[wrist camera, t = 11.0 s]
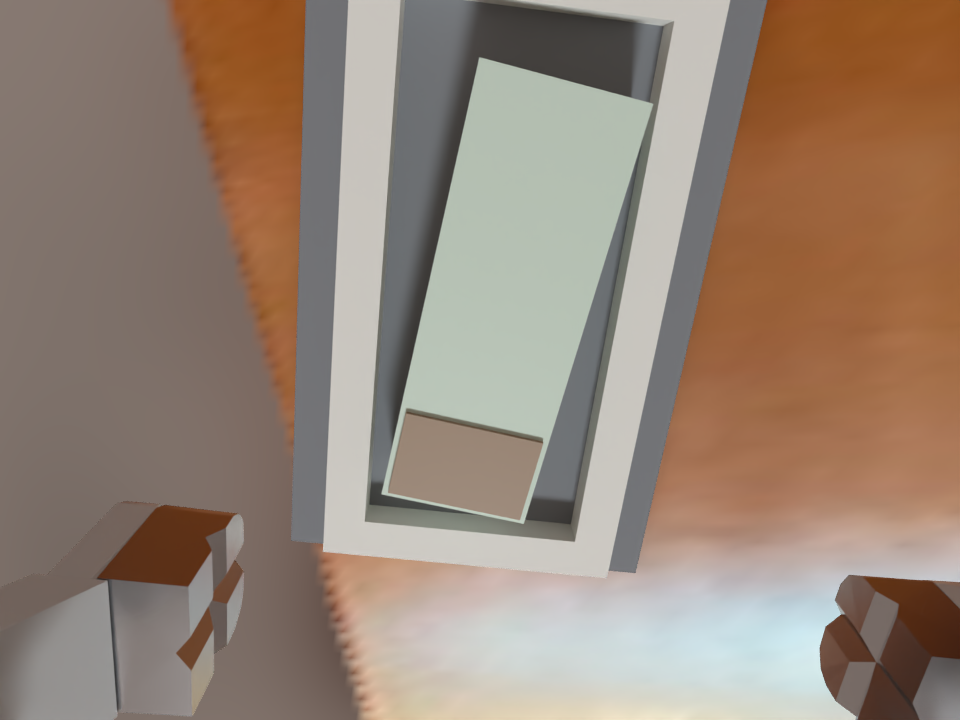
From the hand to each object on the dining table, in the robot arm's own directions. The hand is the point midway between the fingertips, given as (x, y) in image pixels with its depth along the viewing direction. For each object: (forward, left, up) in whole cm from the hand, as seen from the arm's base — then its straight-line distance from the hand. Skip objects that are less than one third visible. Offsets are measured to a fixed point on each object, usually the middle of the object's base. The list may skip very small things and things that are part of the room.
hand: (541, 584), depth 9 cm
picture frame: (0, 0, -16) cm, 16 cm away
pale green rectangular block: (0, 0, -16) cm, 16 cm away
